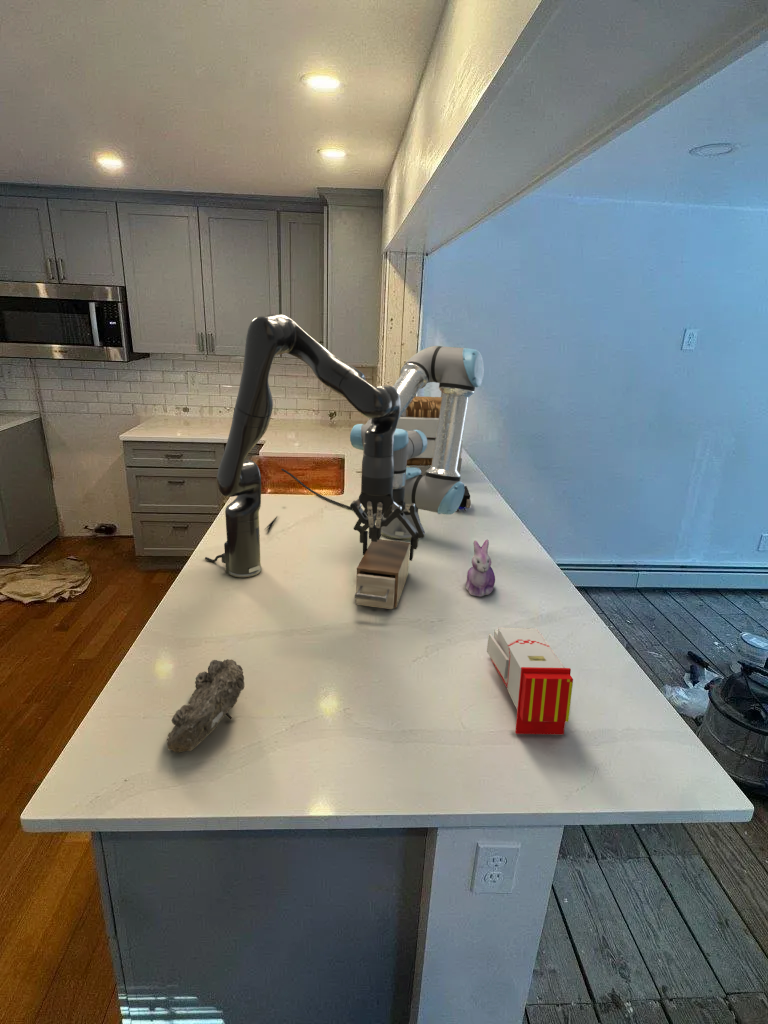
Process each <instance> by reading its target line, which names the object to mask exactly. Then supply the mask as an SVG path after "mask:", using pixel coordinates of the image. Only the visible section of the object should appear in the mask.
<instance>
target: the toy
mask: <svg viewBox="0 0 768 1024" xmlns="http://www.w3.org/2000/svg"><path fill="white" fill-rule="evenodd" d="M493 633H494V634H492V633H488V638H487V645H486V653H487V654H488V656H489V658H490V661H491V662H492V664H493V666H494V667H495V669H496V671H497V673H498V675H499V676H500V678H501V680H502V683H503V684H504V686H505V688H506V689H507V692H508V694H509V696H510V698H511V701H512V702H513V705H514V706H515V709H516V721H515V734H516V735H557V736H558V735H563V736H565V727H566V723H569V721H570V711H571V703H572V695H573V693H572V692H573V685H574V678H573V677H572V676H571V672H572V669H571V667H565V665H564V664H563V662H562V661H561V660H560V658H559V657H558V656H557V654H556V653H555V652H554V650H553V649H552V647H551V646H550V645H549V643H548V642H547V641H546V639H545V637H544V635H543V633H541V632H540V631H539V629H538V628H535V627H534V628H533V627H532V628H531V627H529V628H526V627H525V628H524V627H498V628H497V629H494V632H493Z"/></svg>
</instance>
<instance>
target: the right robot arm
mask: <svg viewBox="0 0 768 1024" xmlns="http://www.w3.org/2000/svg"><path fill="white" fill-rule="evenodd" d="M399 373H400V375H399V377H398V378H397V379H396V381H395V383H393V385H392V387H393V388H395V389H396V390H397V392H398V394H399V396H400V402H401V407H400V414H399V419H400V417H401V416H402V414H403V413H404V411H405V410H406V408H407V407H408V405H409V404H410V402H411V401H412V399H413V398H414V396H415V397H416V395H417V394H418V392H419V391H420V390H421V389H424V388H425V387H426V386H427V384H429V383H436V384H437V383H438V389H439V391H440V393H441V392H442V400H441V407H440V413H439V420H438V426H437V433H436V439H435V446H434V452H433V459H432V465H430V466H429V468H428V469H426V470H425V474H422V470H421V468H419V467H415V466H411V467H409V466H407V460H409V459H411V458H414V457H417V456H419V455H420V454H421V453H423V452H424V451H425V450H426V448H427V438H426V436H425V434H424V433H423V432H421V431H420V430H409V431H406V430H403V429H396V431H395V434H394V453H393V458H394V474H393V497H394V502H395V503H396V504H397V505H401V506H402V510H401V512H400V513H399V514H398V515H397V516H396V517H395V518H394V519H393V520H392V521H391V522H390V524H389V525H388V526H386V527H385V526H383V527H382V528H381V536H382V537H385V538H387V539H389V540H394V541H409V543H410V553H409V562H410V561H411V562H412V561H413V559H414V552H415V550H417V549H418V547H419V539H424V538H425V535H426V531H425V530H424V527H423V524H422V523H421V518H420V515H419V510H421V511H427V512H430V513H431V512H432V513H436V514H438V515H446V516H447V515H448V516H450V515H453V514H455V513H456V512H457V509H458V508H459V506H460V504H461V502H462V499H463V496H464V491H465V489H464V487H465V486H466V485H465V483H464V482H463V481H462V480H461V474H459V473H458V471H457V466H458V460H459V454H460V448H461V442H462V441H463V438H462V435H463V436H464V432H463V429H465V423H466V417H467V410H468V404H469V398H470V397H471V396H472V395H474V394H475V389H476V388H479V387H480V386H481V385H482V384H483V380H484V374H485V366H484V359H483V356H482V354H481V352H480V351H479V350H477V349H475V348H468V347H458V346H457V347H456V346H441V345H433V346H428V347H425V348H423V349H421V350H419V351H418V352H416V353H415V354H413V355H412V356H411V357H409V359H408V360H406V361H405V363H404V364H403V365H402V367H401V368H400V372H399ZM399 419H398V420H399ZM371 420H372V419H370V418H368V420H367V422H366V423H365V424H364V423H356V424H355V425H353V427H352V429H351V430H350V434H349V441H350V444H351V446H352V447H353V448H354V449H356V450H360V451H363V449H364V434H365V432H366V430H367V429H368V428H369V427H370V425H371ZM281 471H282V472H284V473H285V474H287V475H289V476H290V477H291V478H292V479H293V480H295V481H296V482H297V483H299V484H300V486H302V487H304V488H305V489H306V490H308V491H309V492H310V493H312V494H314V495H315V496H317V497H319V498H321V499H324V500H325V501H328V502H330V503H333V504H335V505H338V506H340V507H343V508H346V509H349V510H352V509H351V507H350V505H348V504H344V503H341V502H339V501H336V500H333V499H330V498H328V497H326V496H324V495H323V494H320V493H318V492H316V491H315V490H313V489H311V488H310V487H308V486H307V485H306V484H304V483H303V482H302V481H301V480H299V479H298V478H297V477H296V476H295V475H293V474H292V473H291V472H289V471H288V470H286V469H284V468H281ZM391 509H392V506H391V507H390V508H389V509H388V510H387V511H386V512H385V513H384V515H383V520H385V519H386V518H387V517H388V516H389V515H390V514H391V513H392V512H391ZM363 511H364V512H365V514H366V515H367V517H368V512H367V511H366V510H365V508H364V509H363ZM376 515H377V514H376ZM376 515H375V520H376ZM353 530H354V531H357V532H358V533H359V543H360V544H362V556H364V554H365V552H366V550H367V549H368V543H369V541H368V539H369V526H368V525H366V524H363V525H362V522H361V521H360V520H359V518H358V520H357V521H356V523H355V525H354V526H353Z"/></svg>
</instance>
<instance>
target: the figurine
mask: <svg viewBox="0 0 768 1024" xmlns="http://www.w3.org/2000/svg"><path fill="white" fill-rule="evenodd" d="M489 545H490V541H489V539H486V540H484V542H483V543H482V545H480V543H479V542H478V541H477V540H473V556H472V558H471V564H472V566H471V567H470V568H469V569H468V570H467V573H466V581H465V589H466V590H467V592H468V593H469V595H471V596H474V597H484V596H488V595H490V594H491V593H492V592H493V590H494V587H495V583H496V575H495V572H494V569H493V568H492V563H493V562H492V559H491V556H490V555H489Z"/></svg>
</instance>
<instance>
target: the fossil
mask: <svg viewBox="0 0 768 1024" xmlns="http://www.w3.org/2000/svg"><path fill="white" fill-rule="evenodd" d="M243 670H244V669H243V667H242V665H240V664H237V662H236V661H235V660H234V659H232V658H231V659H227V658H226V659H224V660H223V661H222V660H217V659H212V660H211V661H210V663H209V665H208V666H207V671H201V672H199V673H198V674H197V675H196V676H195V680H194V684H195V685H194V687H195V689H194V690H193V693H192V694H191V697H190V698H189V700H188V704H184V705H182V706H181V707H180V709H177V710H176V711H175V713H174V715H173V716H172V718H171V723H172V724H173V727H172V730H171V731H170V732H168V734H167V738H166V741H167V742H166V745H167V749H168V750H169V751H173V752H174V753H176V754H178V753H182V752H188V751H189V752H192V751H193V750H195V748H196V747H197V746H199V744H200V743H201V742H203V741H204V740H205V739H206V738H207V737H208V736H209V735H210V734H211V733H212V732H214V730H215V729H217V727H218V726H219V724H220V722H221V721H222V720H223V719H224V718H225V716H226V717H227V719H229V720H233V717H232V715H230V714H229V710H230V709H231V708H234V706H235V704H236V703H237V702H238V699H239V697H240V695H241V693H242V691H243V690H245V689H244V688H245V675H244V671H243Z"/></svg>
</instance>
